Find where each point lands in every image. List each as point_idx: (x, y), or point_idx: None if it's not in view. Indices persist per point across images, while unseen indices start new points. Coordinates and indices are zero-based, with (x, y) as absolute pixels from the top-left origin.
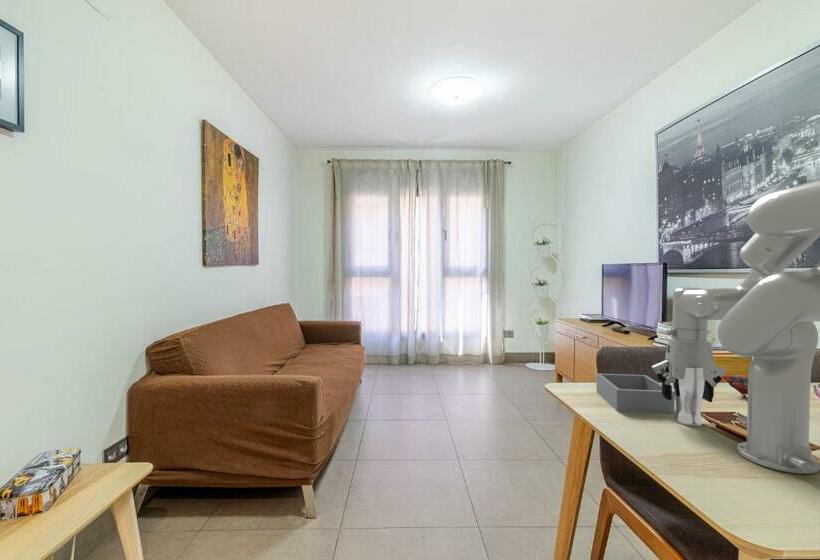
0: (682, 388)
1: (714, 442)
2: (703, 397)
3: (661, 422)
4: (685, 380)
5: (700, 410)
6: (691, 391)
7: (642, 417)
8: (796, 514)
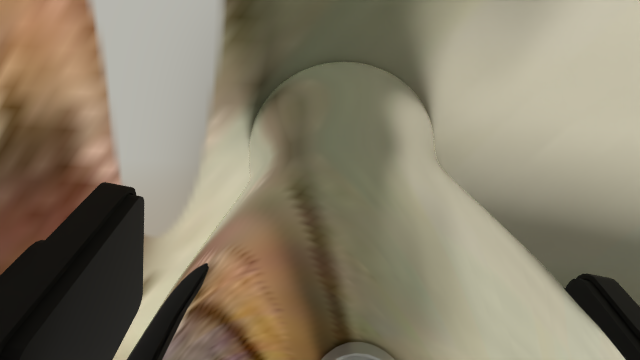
0: None
1: None
2: (136, 296)
3: (549, 159)
4: None
5: (275, 143)
6: (520, 267)
7: (591, 246)
8: None
